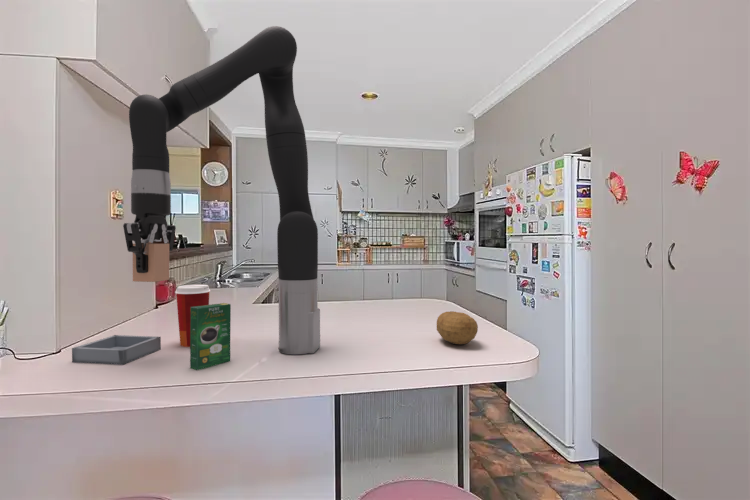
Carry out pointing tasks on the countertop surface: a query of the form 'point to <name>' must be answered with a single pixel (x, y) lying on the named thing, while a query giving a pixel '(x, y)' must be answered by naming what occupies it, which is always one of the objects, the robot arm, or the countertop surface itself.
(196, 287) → the coffee cup
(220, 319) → the coffee box
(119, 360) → the tray
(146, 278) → the light brown open box
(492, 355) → the countertop surface
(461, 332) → the potato
